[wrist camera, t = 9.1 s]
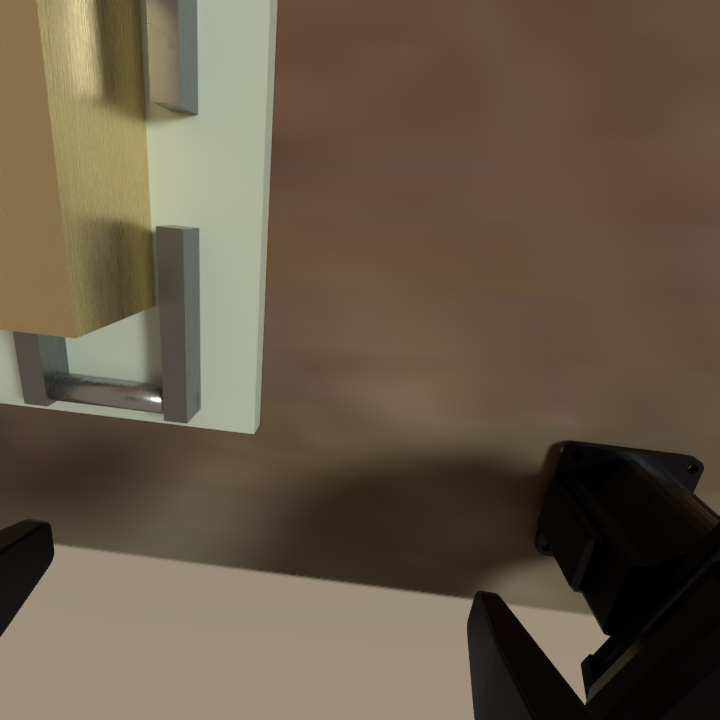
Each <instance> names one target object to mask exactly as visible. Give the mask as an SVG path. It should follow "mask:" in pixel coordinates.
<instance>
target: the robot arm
mask: <svg viewBox="0 0 720 720" xmlns="http://www.w3.org/2000/svg"><path fill="white" fill-rule="evenodd" d="M575 451H579V452H578V454H576V455H572V454H573V452H575ZM691 465H692V466H691ZM689 466H691V468H689V469H687V468H688V467H689ZM703 469H704V466H703V464H702V463H701V462H700V461H699V460H698V459H696V458H695V457H693V456H689V455H681V454H672V453H664V452H656V451H648V450H640V449H632V448H624V447H615V446H607V445H599V444H591V443H583V442H571V443H568V444H567V445H566V446H565V447H564V449H563V452H562V455H561V458H560V461H559V465H558V468H557V471H556V474H555V477H554V480H553V481H552V482H551V483H550V484H549V487H548V490H547V494H546V497H545V500H544V503H543V506H542V510H541V513H540V516H539V519H538V526H539V528H538V531H537V534H536V538H535V541H534V544H535V546H536V548H537V550H538V552H539V553H540V554H542V555H548V556H554V557H555V559H556V561H557V563H558V565H559V567H560V568H561V570H562V572H563V574H564V576H565V578H566V580H567V582H568V584H569V586H570V587H571V588H572V589H573V591H574V592H580V593H582V594H583V596H584V598H585V600H586V602H587V604H588V605H589V607H590V609H591V611H592V613H593V615H594V617H595V618H596V620H597V622H598V624H599V626H600V628H601V629H602V631H603V633H604V634H606V635H609V636H610V637H609V639H607V641H606V642H605V643H604V644H603V645H602V646H601V647H600V648H599V649H598V650H597V651H596V652H595V653H594V654H593V655H591V654H589V655H588V656H587V657H586V658H585V659H584V660H583V662H582V663H581V669H582V675H583V682H584V688H585V694H586V699H587V701H586V704H585V705H584V703H583V702H582V701H581V700H580V698H579V697H578V696H577V694H575V692H574V691H573V689H572V688H571V687H570V686H569V684H568V683H567V682H566V680H565V679H564V678H563V677H562V675H561V674H560V673H559V671H558V670H557V669H556V668H555V666H554V665H553V664H552V663H551V661H550V660H549V659H548V657H547V656H546V655H545V654H544V652H543V651H542V650H541V648H539V646H538V645H537V643H536V642H535V641H534V640H533V638H532V637H531V636H530V634H529V633H528V632H527V631H526V629H525V628H524V627H523V625H522V624H521V623H520V622H519V620H518V619H517V618H516V617H515V615H514V614H513V613H512V611H511V610H510V609H509V608H508V606H507V605H506V604H505V602H504V601H503V600H502V599H501V597H500V596H499V595H497V594H496V593H491V592H485V591H478V592H477V593H476V594H475V597H474V600H473V604H472V607H471V611H470V614H469V618H468V622H467V637H468V649H469V661H470V673H471V685H472V697H473V709H474V719H475V720H720V516H718V515H717V514H716V513H715V512H714V511H713V510H712V509H711V508H709V507H708V506H707V505H706V504H705V503H704V502H703V501H701V500H700V499H699V498H698V497H697V496H696V495H695V494H694V493H693V492H694V490H695V488H696V486H697V483H698V481H699V479H700V477H701V474H702V472H703ZM547 543H548V544H547ZM544 544H547V545H545V546H543V545H544ZM53 557H54V545H53V537H52V529H51V525H50V524H49V523H48V522H46V521H41V520H35V519H27V520H24V521H21V522H19V523H16V524H14V525H12V526H9V527H7V528H5V529H2V530H0V637H1V635H2V634H3V632H4V631H5V630H6V628H7V627H8V625H9V624H10V623H11V621H12V620H13V618H14V617H15V615H16V614H17V612H18V611H19V609H20V608H21V607H22V605H23V603H24V602H25V601H26V599H27V598H28V596H29V595H30V593H31V592H32V591H33V589H34V588H35V586H36V585H37V583H38V582H39V580H40V579H41V577H42V576H43V574H44V573H45V572H46V570H47V569H48V567H49V565H50V564H51V562H52V560H53Z"/></svg>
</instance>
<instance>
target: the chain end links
mask: <svg viewBox="0 0 720 720" xmlns="http://www.w3.org/2000/svg"><path fill="white" fill-rule="evenodd" d="M146 6H147V30H148V54H149V78H150V101H151V102H153V103H155V104H157V105H159V106H161V107H163V108H165V109H167V110H169V111H171V112H179V113H187V114H195V115H198V37H197V0H146ZM156 245H157V269H158V293H159V317H160V341H161V365H162V386H159V385H151V384H143V383H135V382H127V381H119V380H110V379H102V378H94V377H86V376H78V375H70V374H69V365H68V357H67V349H66V340H65V337H59V336H50V335H41V334H33V333H24V332H16V331H13V336H14V342H15V348H16V354H17V361H18V367H19V373H20V379H21V385H22V392H23V398H24V404H31V405H39V406H47V407H48V406H50V405H51V404H53V403H55V402H56V401H63V402H71V403H79V404H88V405H96V406H104V407H112V408H120V409H128V410H137V411H145V412H153V413H161V414H164V421H169V422H177V423H186V424H187V423H188V422H189V421H190V420H191V419H192V418H193V417H194V416H195V414H196V413H197V412H198V411H199V410H200V409H201V362H200V254H199V228H195V227H187V226H179V225H164V226H156Z"/></svg>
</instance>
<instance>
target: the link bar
mask: <svg viewBox="0 0 720 720" xmlns="http://www.w3.org/2000/svg"><path fill="white" fill-rule="evenodd" d="M154 306H155V289H154V269H153V250H152V230H151V211H150V191H149V172H148V152H147V133H146V113H145V94H144V75H143V55H142V36H141V16H140V0H0V330H7V331H16V332H24V333H33V334H41V335H50V336H59V337H67V338H79V337H81V336H83V335H86V334H88V333H91V332H93V331H96V330H98V329H100V328H103V327H105V326H108V325H110V324H113V323H115V322H117V321H120V320H122V319H125V318H127V317H130V316H132V315H135V314H137V313H139V312H142V311H144V310H147V309H149V308H152V307H154Z"/></svg>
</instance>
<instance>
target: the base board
mask: <svg viewBox="0 0 720 720" xmlns="http://www.w3.org/2000/svg"><path fill="white" fill-rule="evenodd" d="M140 16H141V36H142V55H143V75H144V94H145V113H146V133H147V152H148V172H149V191H150V211H151V230H152V250H153V269H154V289H155V306H154V307H152V308H149V309H147V310H144V311H142V312H139V313H137V314H135V315H132V316H130V317H127V318H125V319H122V320H120V321H117V322H115V323H113V324H110V325H108V326H105V327H103V328H100V329H98V330H96V331H93V332H91V333H88V334H86V335H83V336H81V337H79V338H67V337H65V340H66V349H67V357H68V365H69V374H70V375H78V376H86V377H94V378H102V379H110V380H119V381H127V382H135V383H143V384H151V385H159V386H162V365H161V341H160V317H159V293H158V269H157V245H156V226H164V225H179V226H187V227H195V228H199V254H200V362H201V409H200V410H199V411H198V412H197V413H196V414H195V416H194V417H193V418H192V419H191V420H190V421H189V422H188V423H187V424H186V423H177V422H169V421H164V414H161V413H153V412H145V411H137V410H128V409H120V408H112V407H104V406H96V405H88V404H79V403H71V402H63V401H56V402H55V403H53V404H51V405H50V406H48V407H47V406H39V405H31V404H24V398H23V392H22V385H21V379H20V373H19V367H18V361H17V354H16V348H15V342H14V336H13V331H7V330H0V403H4V404H12V405H21V406H29V407H37V408H45V409H53V410H61V411H69V412H78V413H86V414H94V415H102V416H110V417H118V418H127V419H135V420H143V421H151V422H159V423H167V424H176V425H184V426H192V427H200V428H208V429H216V430H224V431H233V432H241V433H249V434H254V433H255V431H256V430H257V428H258V426H259V424H260V404H261V380H262V356H263V333H264V309H265V285H266V261H267V238H268V214H269V190H270V166H271V143H272V119H273V95H274V71H275V48H276V24H277V0H197V37H198V115H195V114H187V113H179V112H171V111H169V110H167V109H165V108H163V107H161V106H159V105H157V104H155V103H153V102H151V101H150V78H149V54H148V30H147V6H146V0H140Z"/></svg>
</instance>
